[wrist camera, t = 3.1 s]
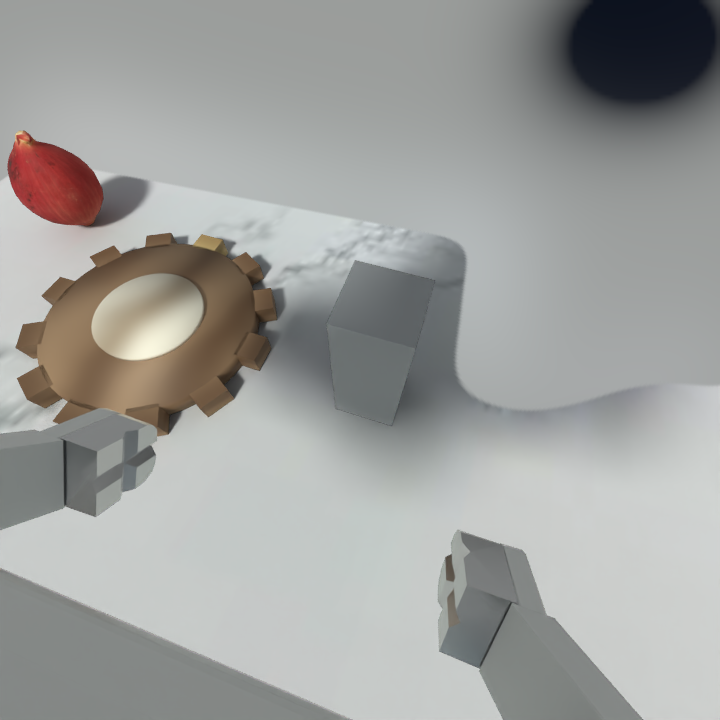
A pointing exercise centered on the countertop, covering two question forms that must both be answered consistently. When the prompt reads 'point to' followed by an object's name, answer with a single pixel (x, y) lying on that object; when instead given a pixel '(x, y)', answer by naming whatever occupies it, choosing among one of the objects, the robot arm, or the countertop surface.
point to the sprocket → (149, 332)
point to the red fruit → (53, 182)
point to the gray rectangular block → (375, 338)
